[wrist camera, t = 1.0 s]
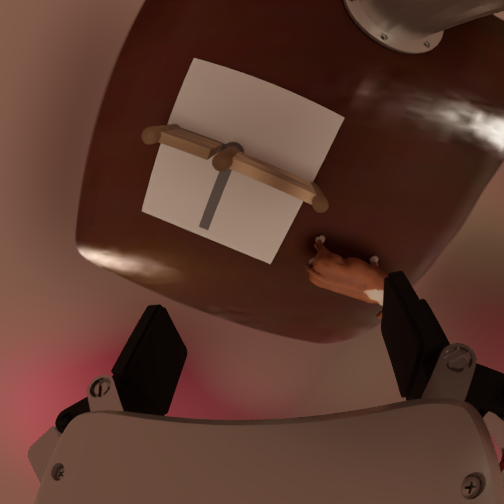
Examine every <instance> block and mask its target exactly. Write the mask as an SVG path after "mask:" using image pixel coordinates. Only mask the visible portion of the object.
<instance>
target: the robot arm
mask: <svg viewBox="0 0 504 504" xmlns="http://www.w3.org/2000/svg"><path fill="white" fill-rule="evenodd" d="M343 1H344V5H345V8H346V10H347V12H348V13H349V15H350V17H351V18H352V20H353V21H354V22H355V24H356V25H357V26H358V27H359V28H360V29H361V30H362V31H363V32H364V33H365V34H366V35H368V36H369V37H370V38H371V39H373V40H374V41H376V42H377V43H379V44H380V45H382V46H384V47H386V48H389V49H391V50H394V51H397V52H400V53H406V54H420V53H424V52H427V51H430V50H432V49H433V48H434V47H436V46H437V45H438V44H439V42H440V41H441V39H442V36H443V33H444V30H446V29H448V28H451V27H454V26H456V25H459V24H462V23H465V22H468V21H471V20H474V19H477V18H481V17H484V16H487V15H491V14H494V13H498V12H501V11H504V0H351V1H350V0H343ZM381 37H382V38H383V39H381ZM381 332H382V336H383V339H384V341H385V344H386V348H387V351H388V354H389V357H390V360H391V363H392V367H393V370H394V373H395V377H396V380H397V383H398V387H399V391H400V394H401V397H406V400H407V401H404V402H398V403H392V404H387V405H382V406H377V407H372V408H366V409H360V410H355V411H348V412H341V413H334V414H327V415H319V416H309V417H298V418H285V419H267V420H211V419H192V418H179V417H168V416H164V415H165V414H167V413H168V410H169V407H170V404H171V401H172V398H173V395H174V392H175V389H176V386H177V383H178V380H179V377H180V375H181V372H182V369H183V366H184V363H185V360H186V357H187V349H186V347H185V345H184V343H183V341H182V339H181V337H180V335H179V333H178V331H177V330H176V328H175V326H174V324H173V322H172V320H171V318H170V316H169V314H168V312H167V310H166V308H164V307H162V306H161V305H149V306H148V307H147V308H146V310H145V312H144V313H143V315H142V317H141V319H140V320H139V322H138V324H137V326H136V327H135V329H134V331H133V332H132V334H131V336H130V338H129V339H128V341H127V343H126V345H125V347H124V348H123V350H122V352H121V354H120V356H119V357H118V359H117V361H116V363H115V365H114V367H113V369H112V371H111V372H112V373H113V376H112V377H110V376H108V375H101V376H99V377H97V378H95V379H94V380H93V381H92V382H91V383H90V385H89V386H88V389H87V396H88V397H86V398H84V399H83V400H81V401H79V402H77V403H75V404H74V405H72V406H70V407H68V408H67V409H65V410H63V411H62V412H61V413H60V414H59V415H58V417H57V419H56V422H55V424H56V427H53V426H52V427H51V428H50V429H49V430H48V431H47V432H46V433H45V434H43V435H42V436H41V437H40V438H39V439H38V440H37V441H36V442H35V443H34V444H33V445H32V446H31V447H30V449H29V451H28V458H29V461H30V463H31V465H32V467H33V469H34V471H35V473H36V475H37V477H38V479H39V481H40V483H41V484H40V487H39V490H38V493H37V496H36V500H35V503H34V504H504V374H503V373H501V372H498V371H495V370H493V369H490V368H488V367H485V366H482V365H480V364H477V363H476V356H475V353H474V351H473V350H472V349H471V348H469V347H468V346H466V345H464V344H459V343H455V344H451V345H450V343H449V341H448V340H447V337H446V336H445V334H444V332H443V330H442V328H441V326H440V324H439V323H438V321H437V319H436V317H435V315H434V314H433V312H432V310H431V308H430V307H429V305H428V303H427V302H426V300H424V299H420V300H419V298H418V296H417V294H416V293H415V291H414V289H413V288H412V286H411V284H410V283H409V281H408V279H407V278H406V276H405V274H404V273H403V271H398V272H393V273H389V274H388V277H385V278H384V292H383V308H382V321H381ZM490 435H491V436H493V437H494V438H495V439H496V440H495V443H496V444H497V445H499V447H500V448H501V451H502V458H501V461H500V463H498V458H497V455H496V451H495V448H494V444H493V442H492V438H491V436H490Z"/></svg>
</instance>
